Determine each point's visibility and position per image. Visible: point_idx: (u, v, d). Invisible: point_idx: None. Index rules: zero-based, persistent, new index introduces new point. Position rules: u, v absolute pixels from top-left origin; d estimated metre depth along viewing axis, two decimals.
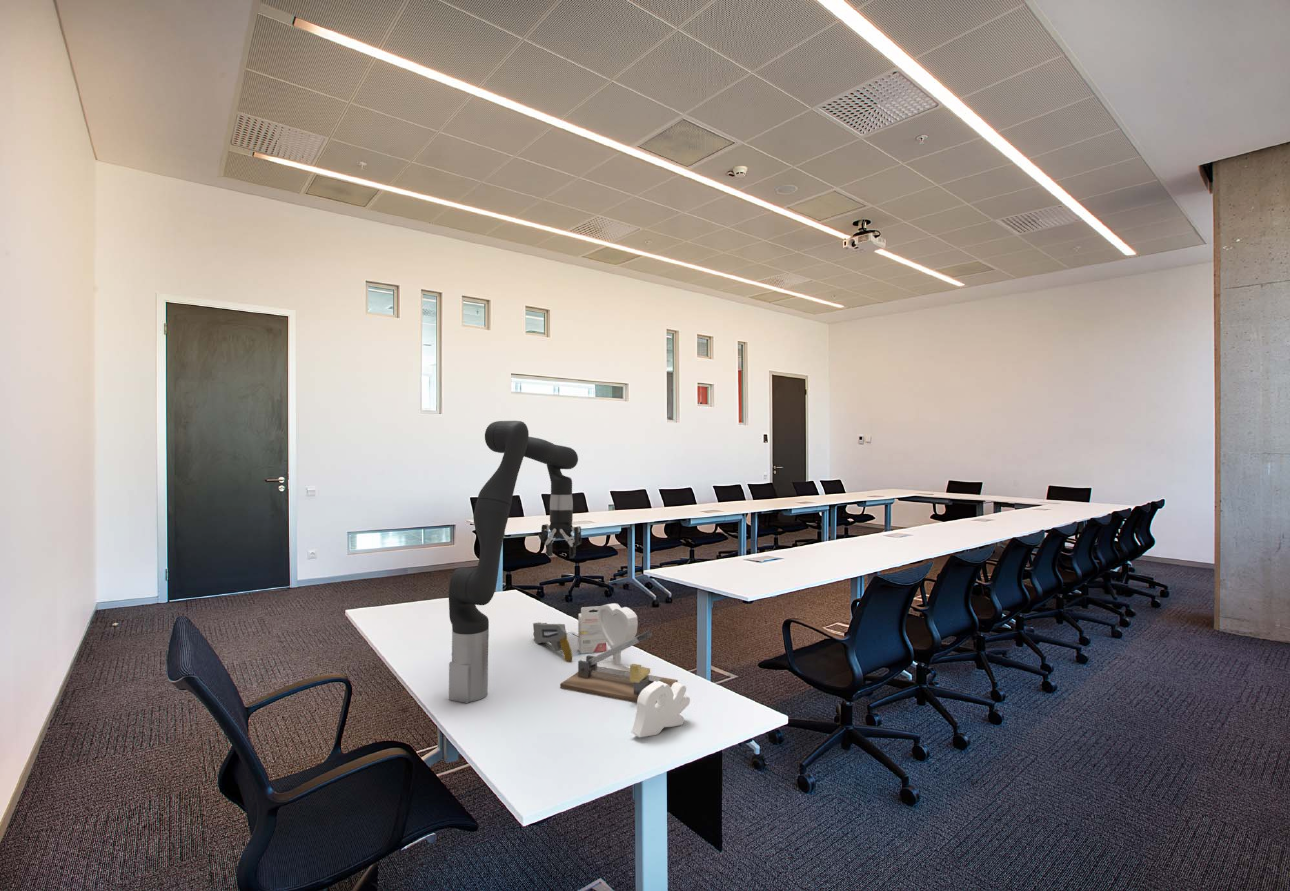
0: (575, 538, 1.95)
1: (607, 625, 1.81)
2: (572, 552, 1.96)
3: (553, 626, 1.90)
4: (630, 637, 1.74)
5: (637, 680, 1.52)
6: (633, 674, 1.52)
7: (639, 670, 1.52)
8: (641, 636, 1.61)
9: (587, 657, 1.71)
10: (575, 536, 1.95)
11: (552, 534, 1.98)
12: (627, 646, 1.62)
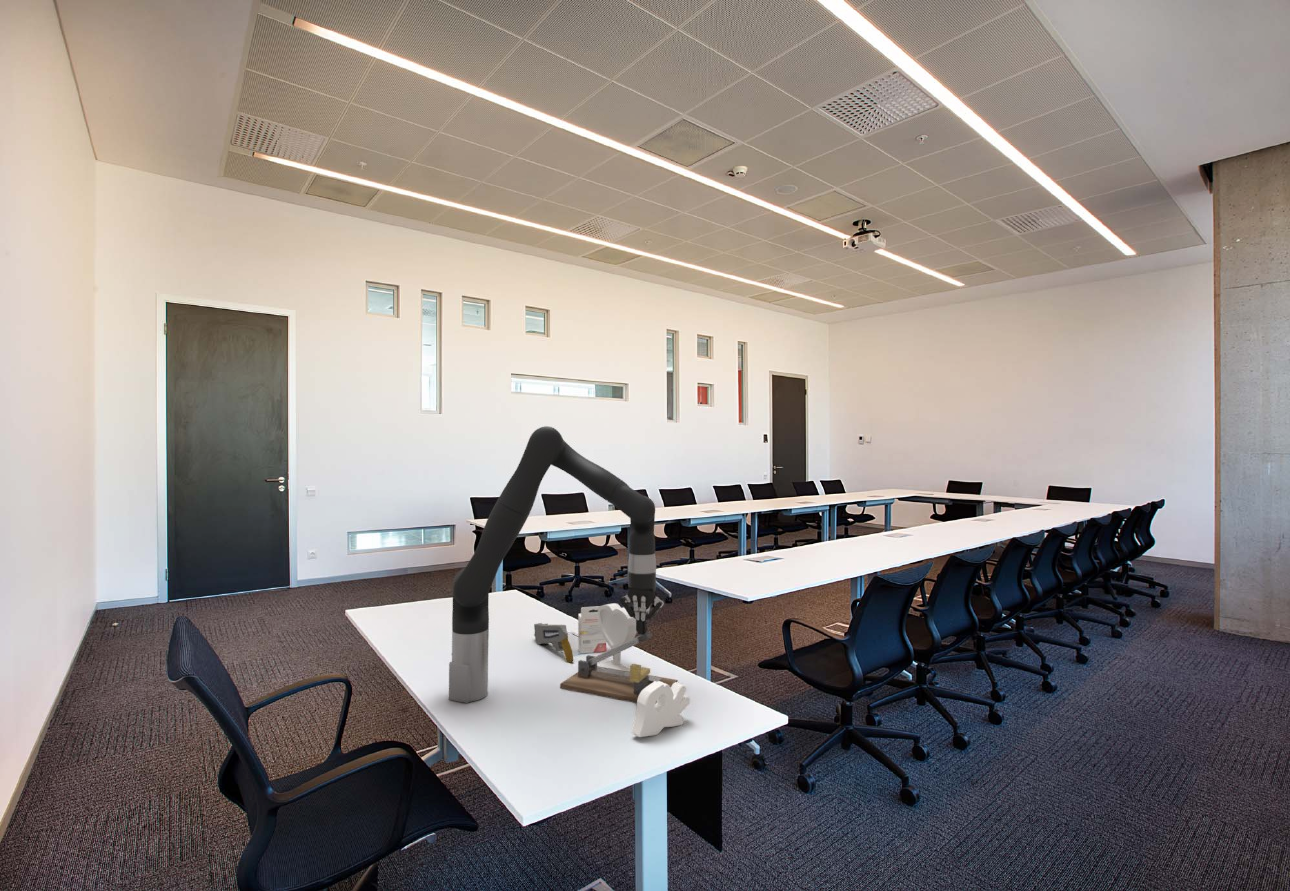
0: (651, 612, 1.60)
1: (607, 625, 1.81)
2: (644, 627, 1.61)
3: (554, 627, 1.89)
4: (630, 637, 1.74)
5: (637, 680, 1.52)
6: (633, 674, 1.52)
7: (639, 670, 1.52)
8: (641, 637, 1.61)
9: (587, 657, 1.71)
10: (653, 610, 1.60)
11: (636, 603, 1.61)
12: (627, 647, 1.62)
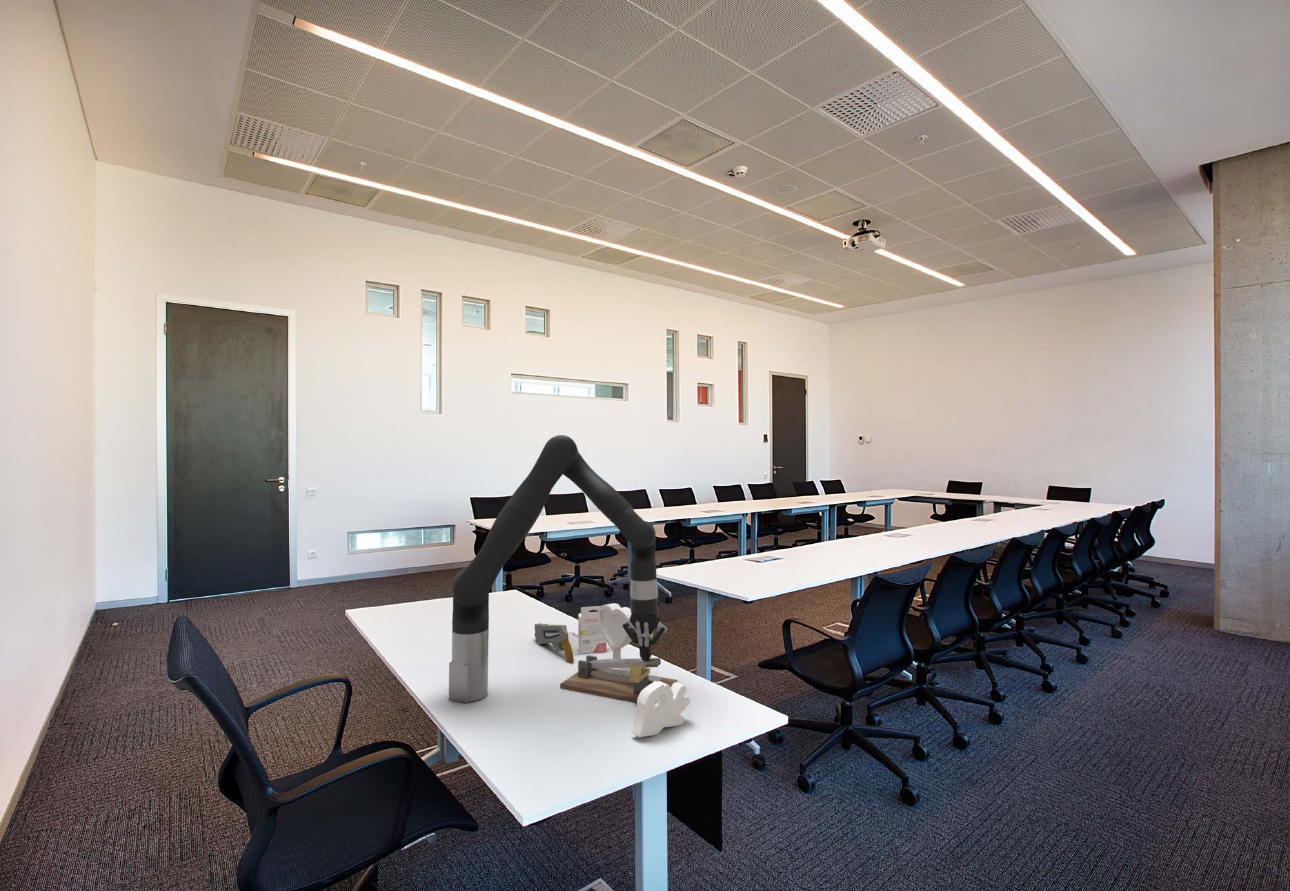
0: (655, 638, 1.60)
1: (607, 625, 1.81)
2: (648, 653, 1.61)
3: (555, 627, 1.89)
4: None
5: (637, 680, 1.52)
6: (633, 674, 1.52)
7: (639, 670, 1.52)
8: (650, 663, 1.60)
9: (587, 657, 1.71)
10: (656, 636, 1.60)
11: (639, 629, 1.61)
12: None
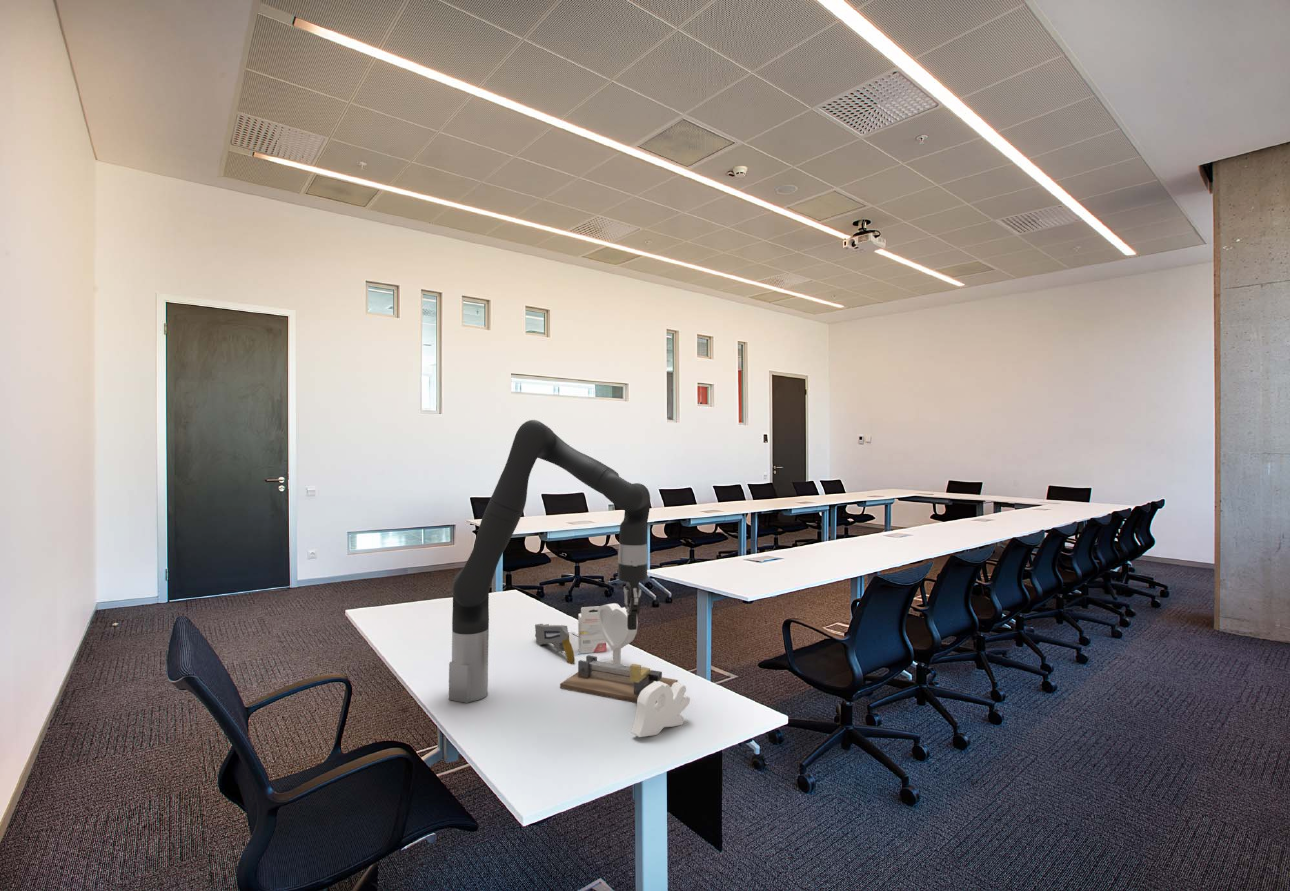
0: (629, 607, 1.50)
1: (607, 625, 1.81)
2: (629, 622, 1.52)
3: (555, 627, 1.89)
4: (630, 637, 1.74)
5: (637, 680, 1.52)
6: (633, 674, 1.52)
7: (639, 670, 1.52)
8: (652, 676, 1.59)
9: (587, 657, 1.71)
10: (630, 605, 1.49)
11: (625, 595, 1.54)
12: None
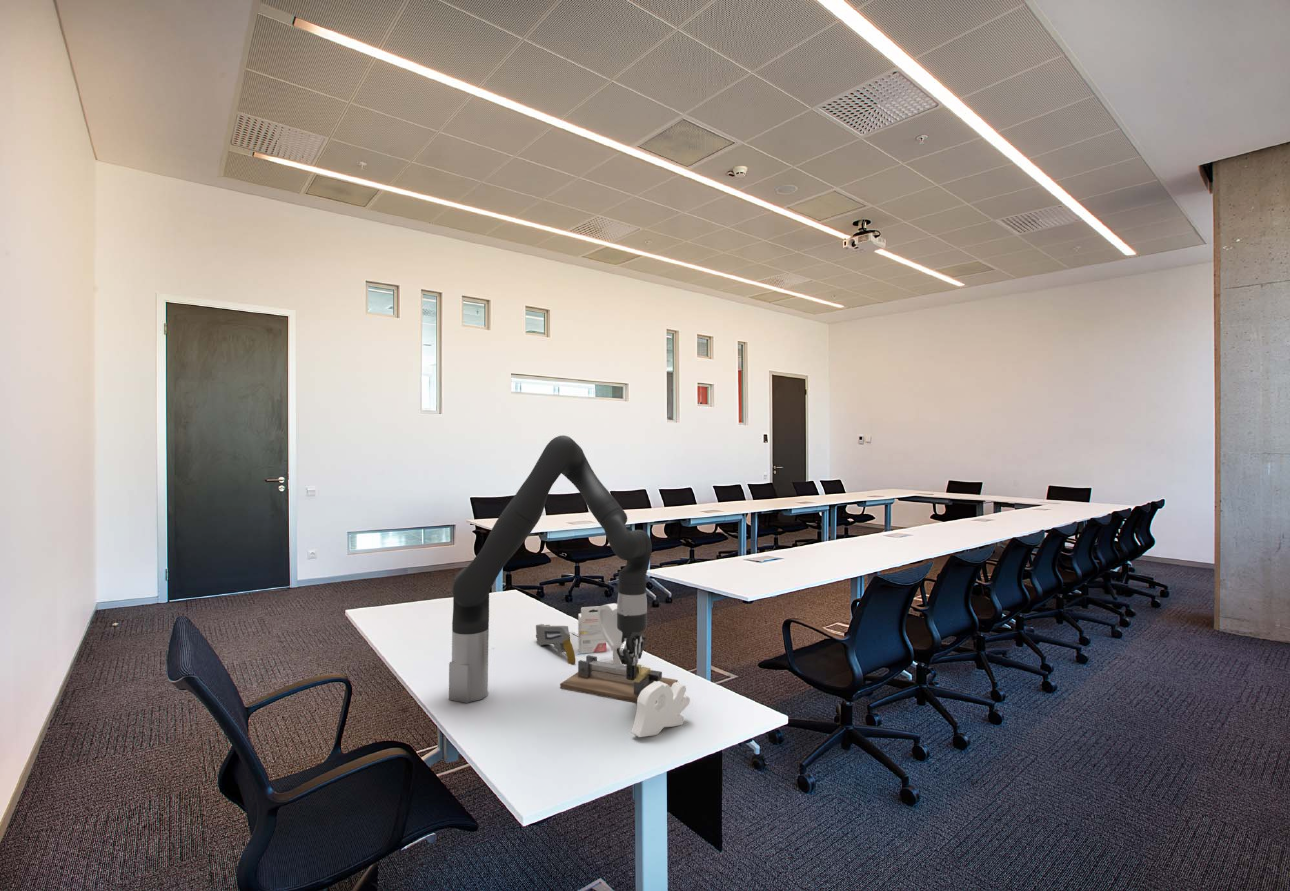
0: None
1: (607, 625, 1.81)
2: None
3: (556, 628, 1.88)
4: None
5: (637, 680, 1.52)
6: None
7: (639, 670, 1.52)
8: (652, 676, 1.59)
9: (587, 657, 1.71)
10: None
11: None
12: None
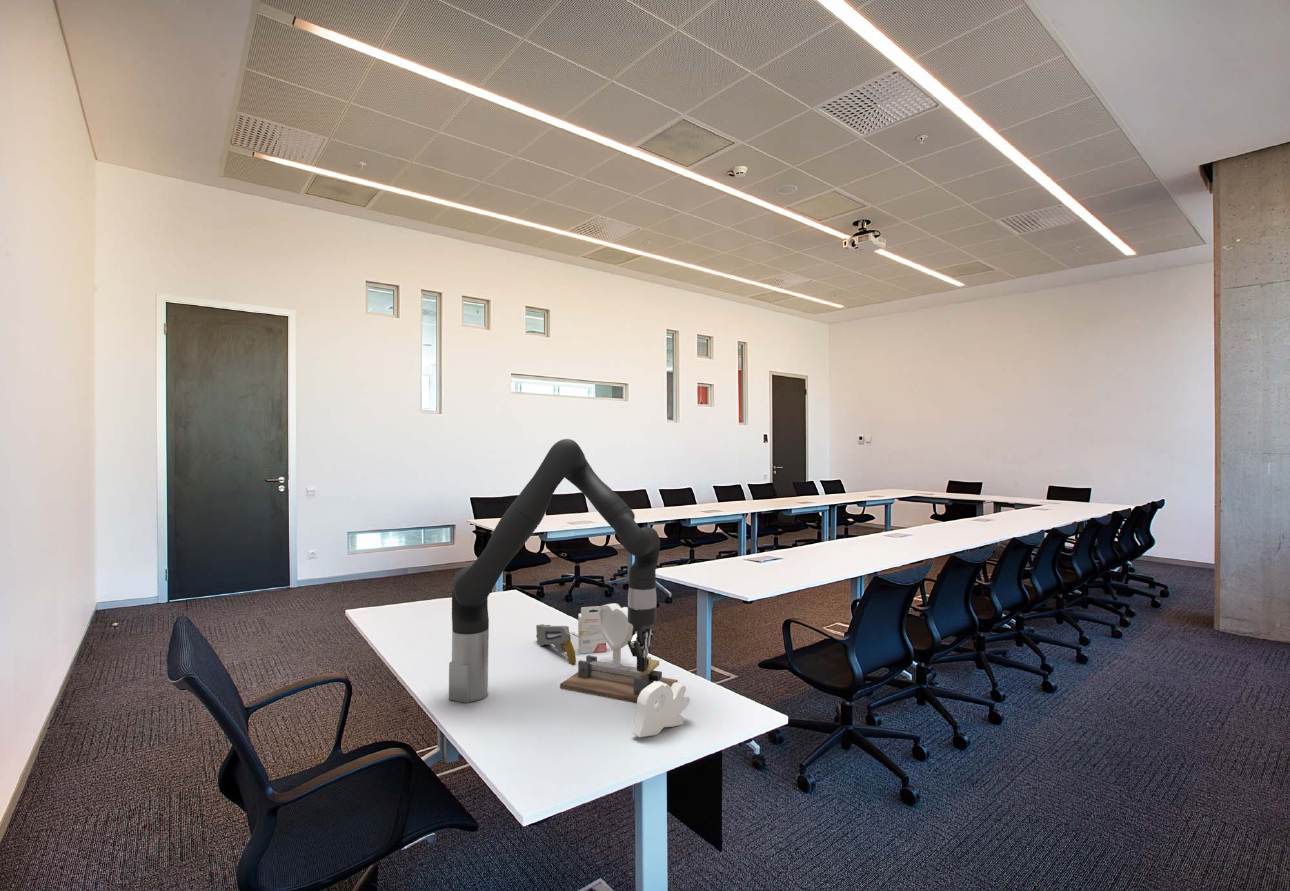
0: None
1: (607, 625, 1.81)
2: (637, 664, 1.55)
3: (557, 628, 1.88)
4: (630, 637, 1.74)
5: (647, 671, 1.58)
6: None
7: (649, 662, 1.58)
8: (652, 676, 1.59)
9: (587, 657, 1.71)
10: None
11: None
12: (634, 675, 1.61)
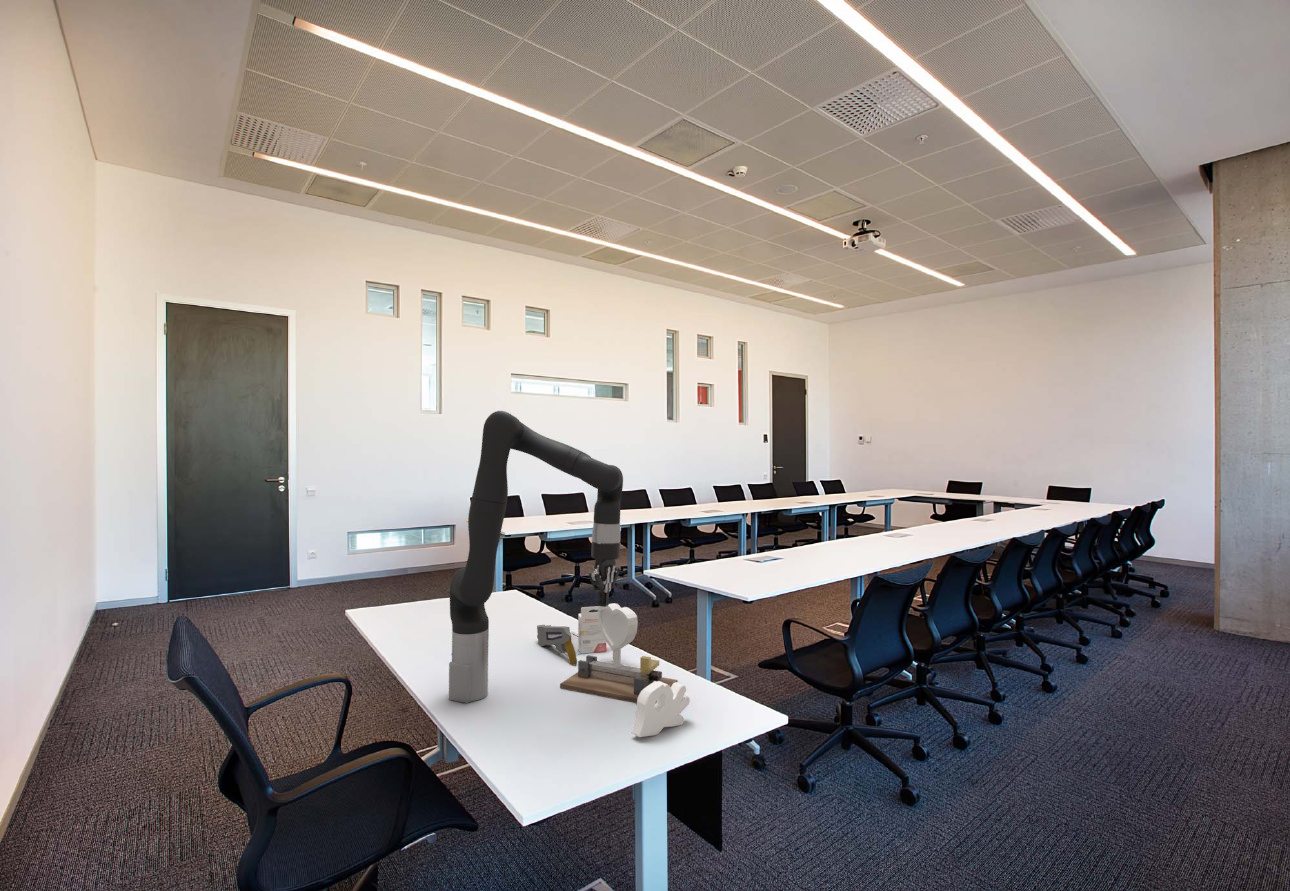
0: None
1: (607, 625, 1.81)
2: None
3: (557, 629, 1.87)
4: (630, 637, 1.74)
5: (647, 671, 1.58)
6: (643, 666, 1.58)
7: (649, 662, 1.58)
8: (652, 676, 1.59)
9: (587, 657, 1.71)
10: None
11: None
12: (634, 675, 1.61)
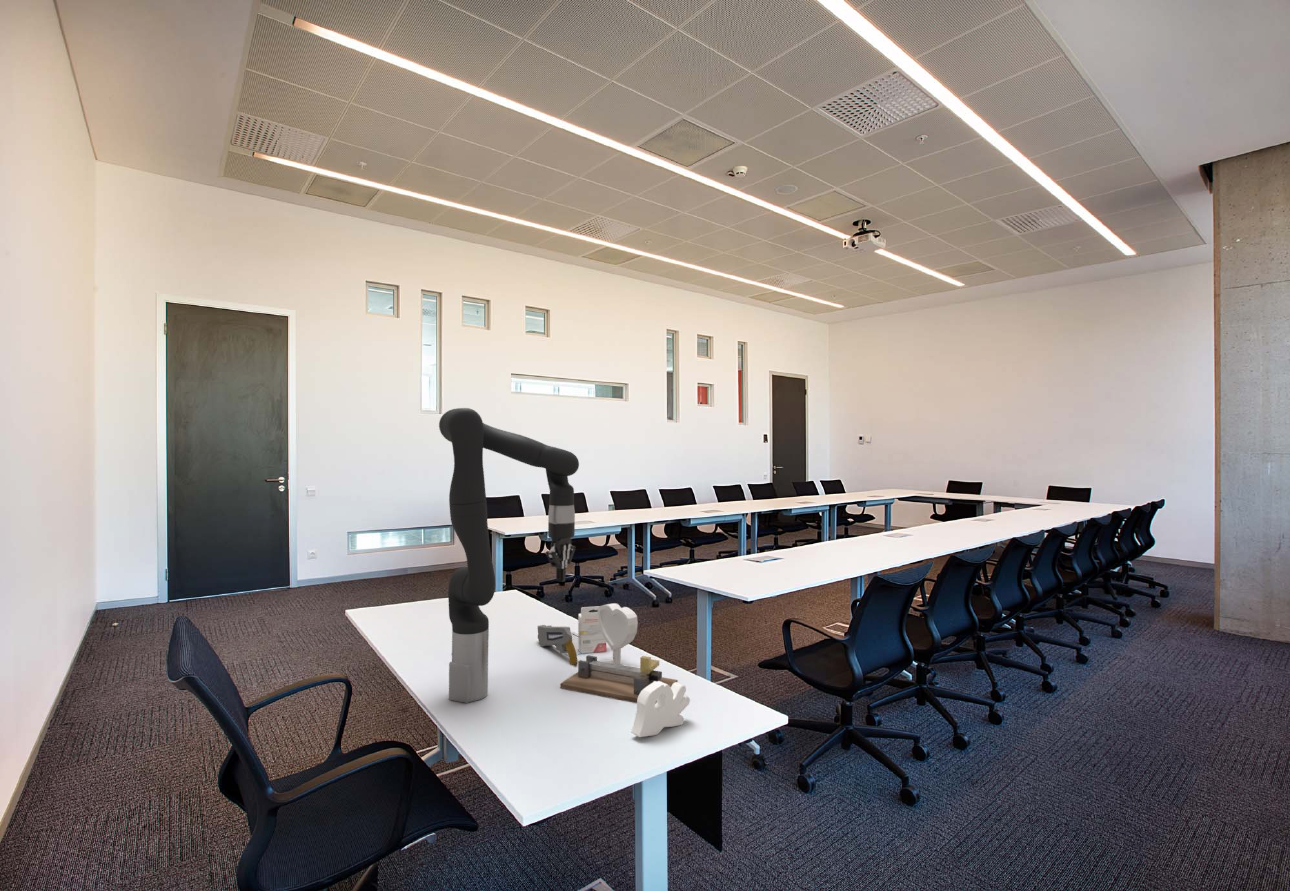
0: None
1: (607, 625, 1.81)
2: None
3: (558, 629, 1.87)
4: (630, 637, 1.74)
5: (647, 671, 1.58)
6: (643, 666, 1.58)
7: (649, 662, 1.58)
8: (652, 676, 1.59)
9: (587, 657, 1.71)
10: None
11: None
12: (634, 675, 1.61)
